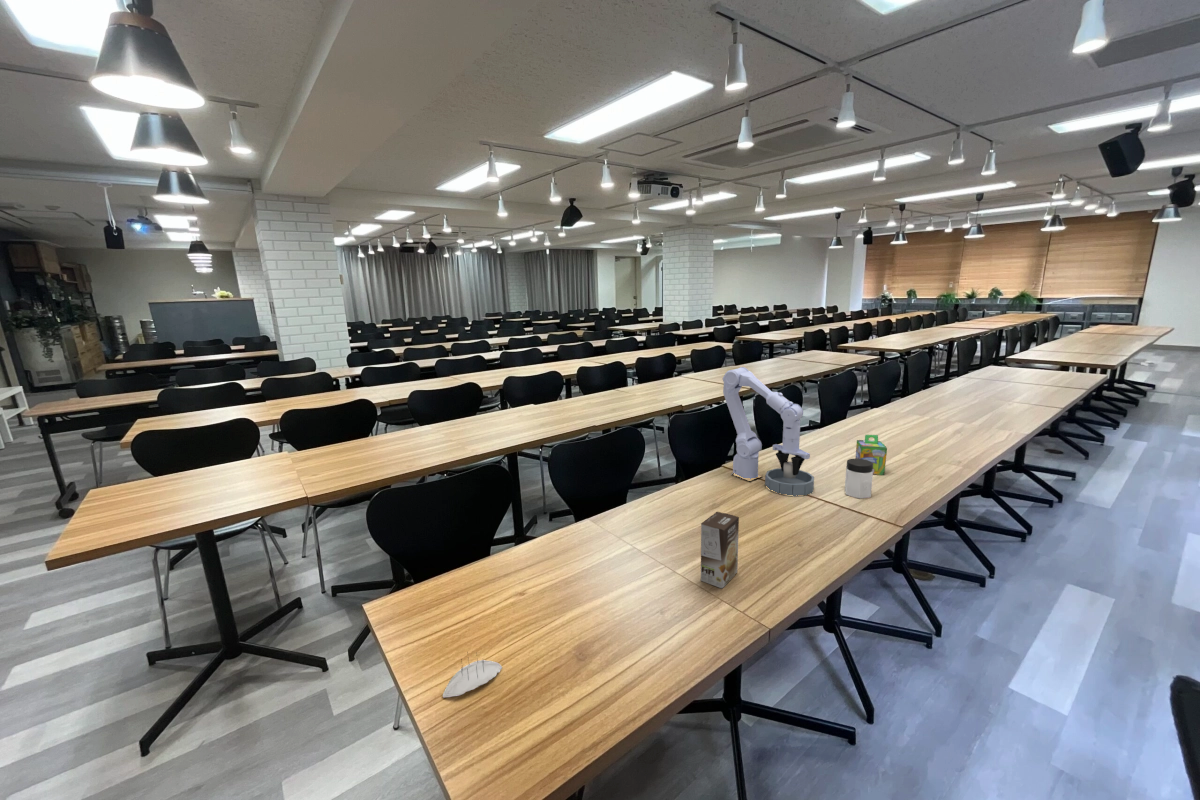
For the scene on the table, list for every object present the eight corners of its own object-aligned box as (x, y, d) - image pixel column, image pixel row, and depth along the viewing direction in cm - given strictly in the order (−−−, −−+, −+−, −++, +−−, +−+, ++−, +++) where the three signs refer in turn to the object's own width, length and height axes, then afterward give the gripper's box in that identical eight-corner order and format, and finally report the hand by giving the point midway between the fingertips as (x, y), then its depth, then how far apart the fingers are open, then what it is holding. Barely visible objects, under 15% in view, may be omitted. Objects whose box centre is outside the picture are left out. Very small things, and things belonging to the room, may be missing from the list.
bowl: (756, 485, 179) (756, 474, 178) (784, 475, 187) (785, 465, 186) (793, 500, 165) (794, 488, 164) (822, 489, 173) (823, 477, 172)
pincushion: (448, 710, 86) (445, 683, 85) (438, 689, 91) (434, 664, 89) (508, 677, 93) (506, 652, 92) (495, 659, 98) (493, 635, 96)
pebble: (780, 475, 176) (781, 463, 175) (788, 473, 178) (788, 460, 177) (791, 479, 172) (791, 466, 171) (798, 476, 175) (798, 463, 174)
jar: (853, 499, 164) (855, 467, 161) (838, 490, 171) (840, 459, 169) (877, 497, 165) (879, 464, 162) (861, 488, 173) (863, 457, 170)
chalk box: (859, 474, 186) (861, 438, 183) (854, 466, 195) (856, 431, 191) (885, 475, 183) (888, 439, 180) (879, 467, 192) (882, 432, 189)
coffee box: (723, 589, 117) (724, 530, 114) (699, 580, 121) (700, 523, 118) (738, 572, 124) (739, 516, 120) (715, 564, 128) (716, 510, 124)
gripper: (767, 435, 176) (766, 469, 179) (801, 444, 164) (799, 480, 167) (780, 432, 180) (779, 465, 183) (814, 440, 168) (812, 476, 170)
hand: (789, 472), depth 175 cm, fingers closed on pebble, 4 cm apart
